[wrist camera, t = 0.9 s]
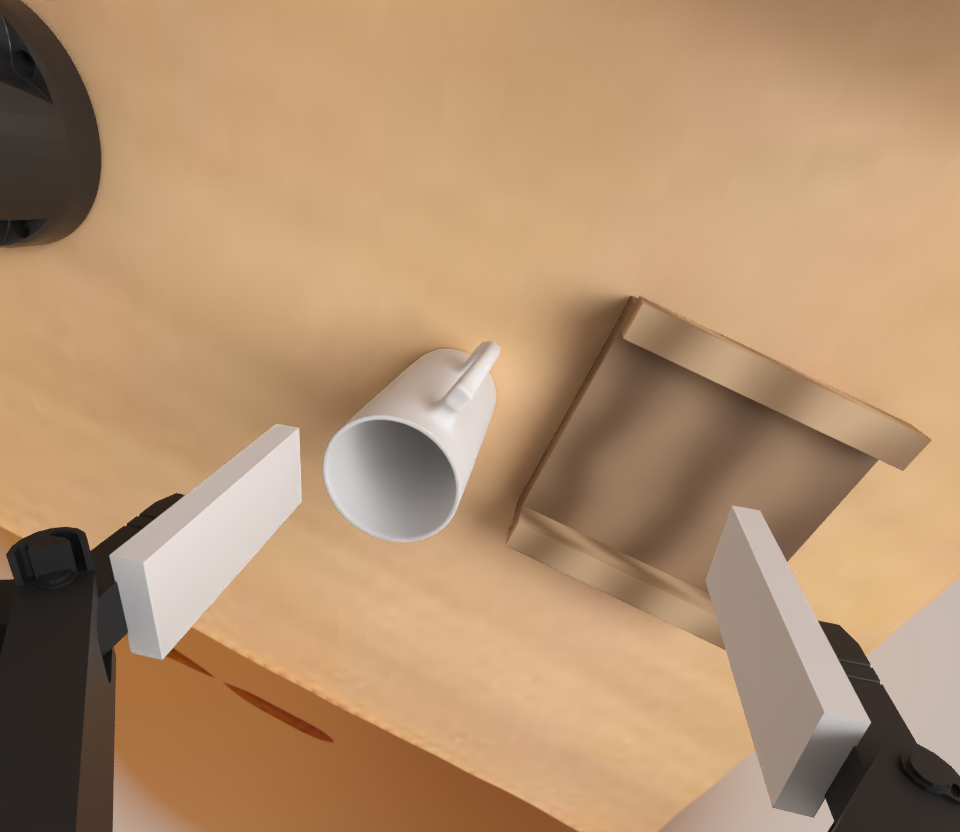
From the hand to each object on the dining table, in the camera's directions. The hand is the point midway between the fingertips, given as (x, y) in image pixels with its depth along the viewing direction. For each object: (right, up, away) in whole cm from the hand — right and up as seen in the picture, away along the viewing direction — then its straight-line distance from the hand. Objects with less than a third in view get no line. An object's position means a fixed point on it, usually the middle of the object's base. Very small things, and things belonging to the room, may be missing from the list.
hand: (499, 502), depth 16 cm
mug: (-2, +5, +19) cm, 20 cm away
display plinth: (+12, 0, +18) cm, 22 cm away
